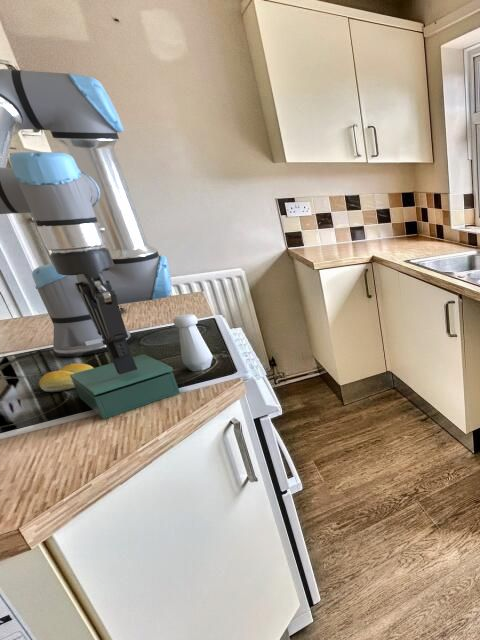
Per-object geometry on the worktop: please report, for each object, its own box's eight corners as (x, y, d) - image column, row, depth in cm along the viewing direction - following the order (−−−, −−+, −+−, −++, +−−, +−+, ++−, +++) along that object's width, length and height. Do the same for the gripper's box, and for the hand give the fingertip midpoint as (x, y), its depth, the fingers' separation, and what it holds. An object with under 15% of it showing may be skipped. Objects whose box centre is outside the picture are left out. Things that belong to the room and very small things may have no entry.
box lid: (173, 370, 85) (172, 367, 85) (94, 395, 76) (92, 391, 76) (145, 357, 94) (144, 354, 94) (71, 378, 85) (69, 374, 84)
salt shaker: (192, 375, 96) (174, 320, 91) (180, 369, 98) (162, 317, 94) (219, 365, 100) (204, 313, 95) (208, 360, 103) (192, 310, 98)
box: (180, 392, 88) (172, 372, 86) (103, 419, 78) (94, 397, 77) (152, 376, 96) (145, 357, 94) (80, 398, 86) (71, 378, 85)
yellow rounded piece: (32, 392, 90) (23, 375, 88) (79, 374, 98) (72, 358, 96) (63, 394, 88) (55, 377, 87) (108, 376, 96) (101, 360, 95)
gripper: (118, 248, 73) (163, 371, 82) (95, 243, 80) (139, 357, 88) (58, 255, 67) (114, 387, 76) (39, 249, 74) (91, 370, 83)
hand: (127, 370), depth 82 cm, fingers closed
